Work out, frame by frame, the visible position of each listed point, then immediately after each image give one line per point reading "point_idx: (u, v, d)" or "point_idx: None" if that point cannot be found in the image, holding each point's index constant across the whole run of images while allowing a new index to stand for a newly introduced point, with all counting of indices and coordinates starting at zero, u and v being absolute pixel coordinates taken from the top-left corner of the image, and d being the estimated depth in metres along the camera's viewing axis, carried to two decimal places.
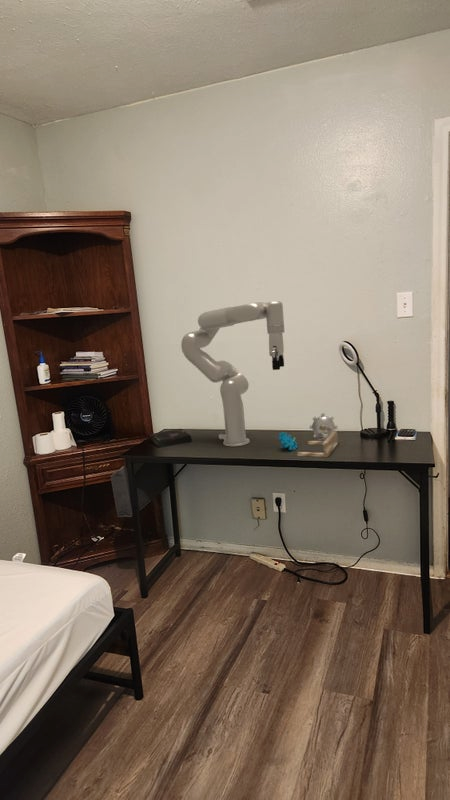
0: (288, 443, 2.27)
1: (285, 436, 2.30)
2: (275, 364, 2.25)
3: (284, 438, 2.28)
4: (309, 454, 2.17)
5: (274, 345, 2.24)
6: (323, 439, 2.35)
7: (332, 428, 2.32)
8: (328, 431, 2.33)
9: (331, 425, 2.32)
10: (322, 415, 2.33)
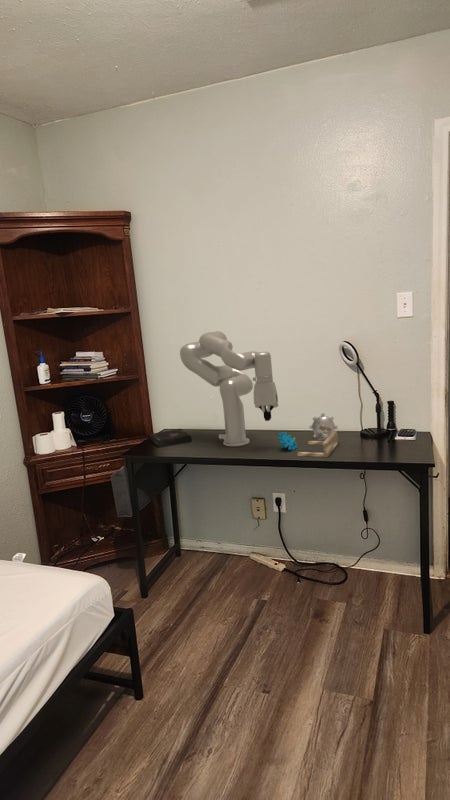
0: (287, 443, 2.28)
1: (285, 436, 2.30)
2: (270, 414, 2.31)
3: (284, 438, 2.29)
4: (309, 454, 2.17)
5: (275, 396, 2.28)
6: (323, 439, 2.35)
7: (332, 428, 2.32)
8: (328, 431, 2.33)
9: (331, 425, 2.32)
10: (322, 415, 2.33)
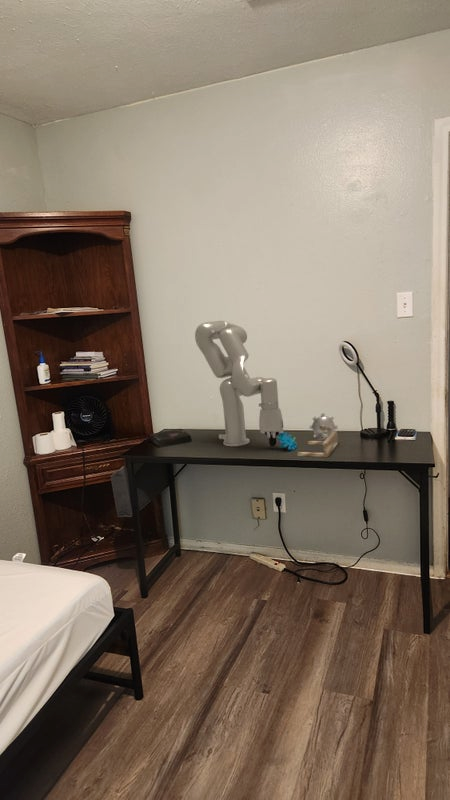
0: (287, 443, 2.28)
1: (285, 436, 2.30)
2: (275, 440, 2.32)
3: (283, 438, 2.29)
4: (309, 454, 2.17)
5: None
6: (323, 439, 2.35)
7: (332, 428, 2.32)
8: (328, 431, 2.33)
9: (331, 425, 2.32)
10: (322, 415, 2.33)
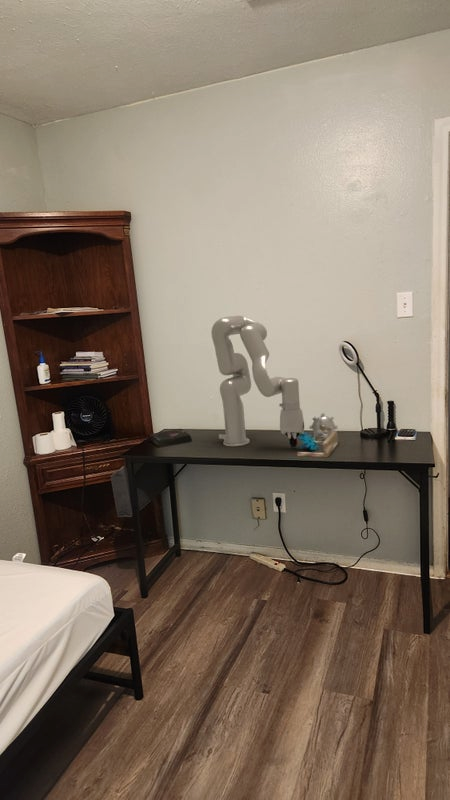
0: (309, 443, 2.24)
1: (305, 436, 2.27)
2: (296, 441, 2.28)
3: (305, 438, 2.25)
4: (309, 454, 2.17)
5: None
6: (323, 439, 2.35)
7: (332, 428, 2.32)
8: (328, 431, 2.33)
9: (331, 425, 2.32)
10: (322, 415, 2.33)
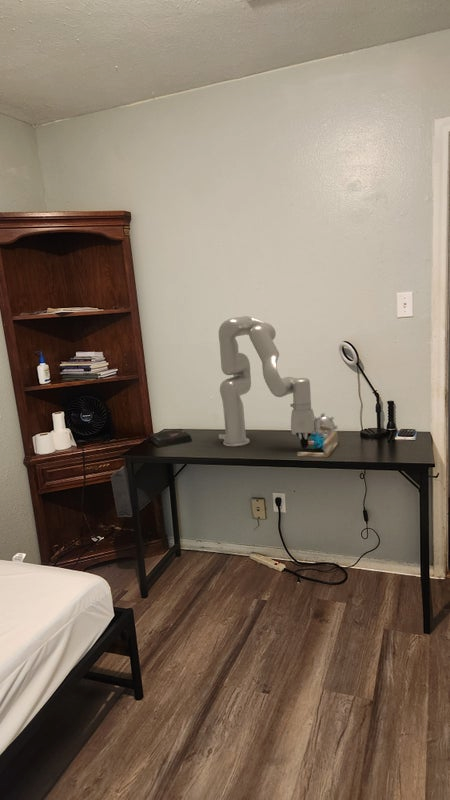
0: (321, 443, 2.22)
1: (317, 436, 2.25)
2: (307, 442, 2.26)
3: (316, 438, 2.23)
4: (309, 454, 2.17)
5: None
6: None
7: (332, 428, 2.32)
8: (328, 431, 2.33)
9: (331, 425, 2.32)
10: (322, 415, 2.33)
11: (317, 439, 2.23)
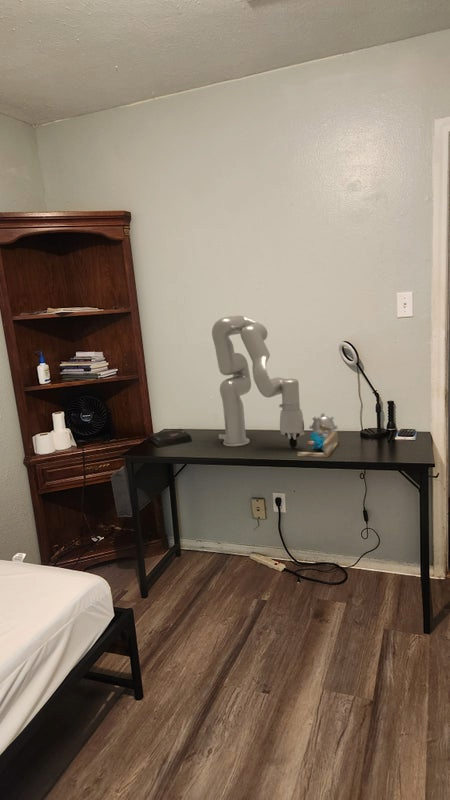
0: (320, 444, 2.22)
1: (317, 437, 2.25)
2: (296, 442, 2.28)
3: (316, 439, 2.23)
4: (309, 454, 2.17)
5: None
6: None
7: (332, 428, 2.32)
8: (328, 431, 2.33)
9: (331, 425, 2.32)
10: (322, 415, 2.33)
11: (317, 439, 2.23)
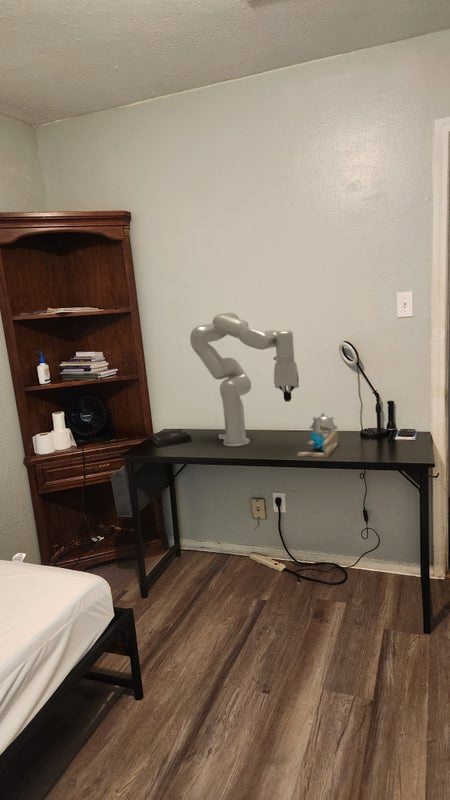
0: (320, 444, 2.22)
1: (316, 436, 2.25)
2: (290, 395, 2.25)
3: (316, 438, 2.23)
4: (309, 454, 2.17)
5: None
6: None
7: (332, 428, 2.32)
8: (328, 431, 2.33)
9: (331, 425, 2.32)
10: (322, 415, 2.33)
11: (317, 439, 2.23)
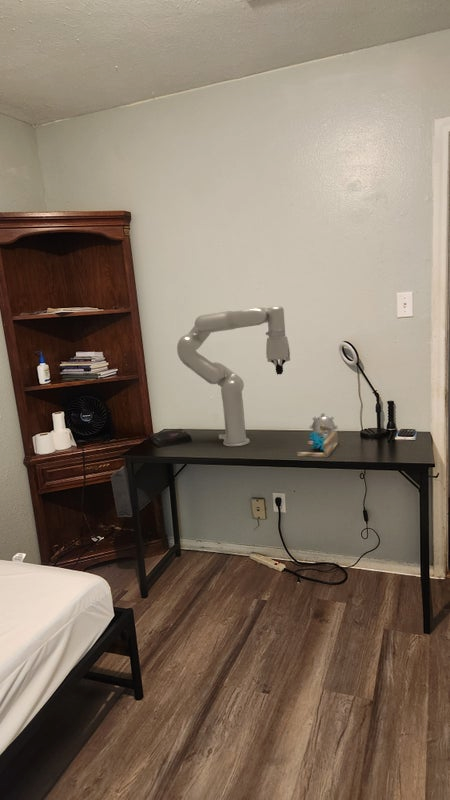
0: (320, 444, 2.22)
1: (316, 436, 2.25)
2: (282, 368, 2.37)
3: (315, 438, 2.23)
4: (309, 454, 2.17)
5: (288, 350, 2.34)
6: None
7: (332, 428, 2.32)
8: (328, 431, 2.33)
9: (331, 425, 2.32)
10: (322, 415, 2.33)
11: (316, 439, 2.23)
